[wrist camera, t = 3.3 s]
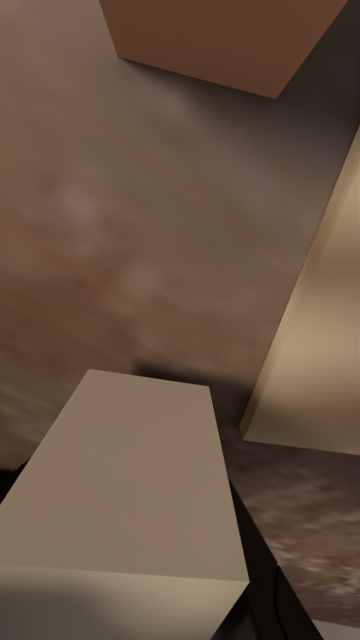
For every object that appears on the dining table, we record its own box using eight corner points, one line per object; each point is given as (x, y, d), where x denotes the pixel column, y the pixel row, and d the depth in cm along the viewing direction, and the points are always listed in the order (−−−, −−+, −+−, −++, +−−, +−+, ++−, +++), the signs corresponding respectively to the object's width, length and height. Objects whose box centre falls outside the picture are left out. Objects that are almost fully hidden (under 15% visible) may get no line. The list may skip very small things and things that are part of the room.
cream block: (185, 463, 10) (193, 664, 5) (86, 452, 10) (0, 657, 5) (208, 386, 8) (249, 581, 4) (89, 368, 8) (-37, 562, 3)
